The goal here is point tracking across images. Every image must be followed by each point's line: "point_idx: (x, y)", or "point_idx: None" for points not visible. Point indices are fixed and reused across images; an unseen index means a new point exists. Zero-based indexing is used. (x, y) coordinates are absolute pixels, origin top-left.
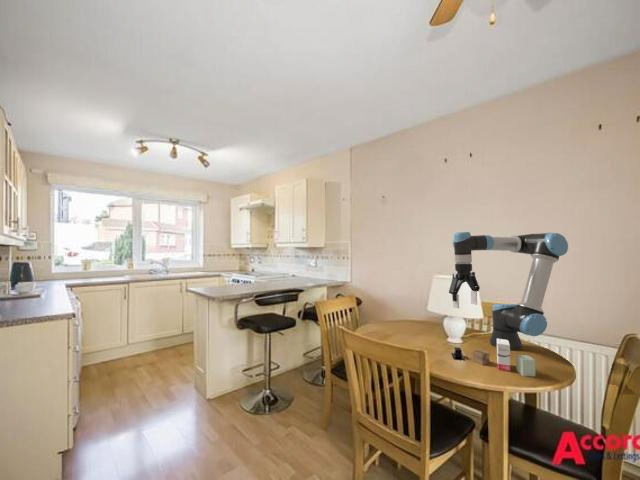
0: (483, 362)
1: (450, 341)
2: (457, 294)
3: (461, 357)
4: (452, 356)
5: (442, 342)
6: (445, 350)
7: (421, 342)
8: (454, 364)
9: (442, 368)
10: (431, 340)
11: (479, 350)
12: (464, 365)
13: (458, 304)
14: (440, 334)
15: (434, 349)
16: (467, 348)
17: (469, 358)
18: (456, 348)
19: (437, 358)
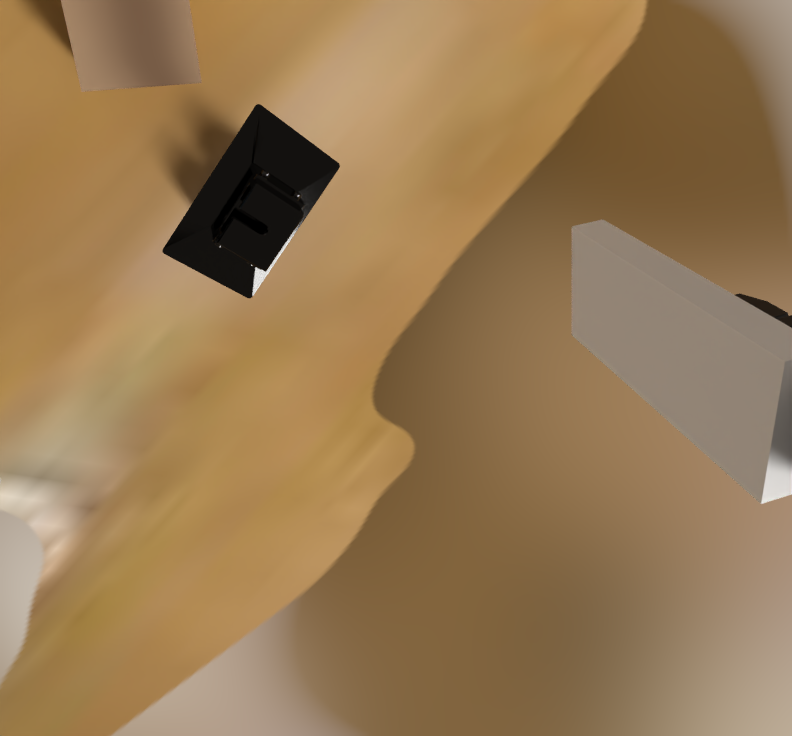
0: None
1: (56, 521)
2: (780, 395)
3: (255, 164)
4: (299, 224)
5: (149, 512)
6: (257, 354)
7: (323, 539)
8: (414, 72)
9: (563, 42)
10: (211, 564)
11: (109, 69)
12: (349, 19)
13: (636, 249)
14: (29, 672)
15: (331, 394)
16: (12, 345)
17: (180, 136)
18: (268, 238)
19: (447, 228)
